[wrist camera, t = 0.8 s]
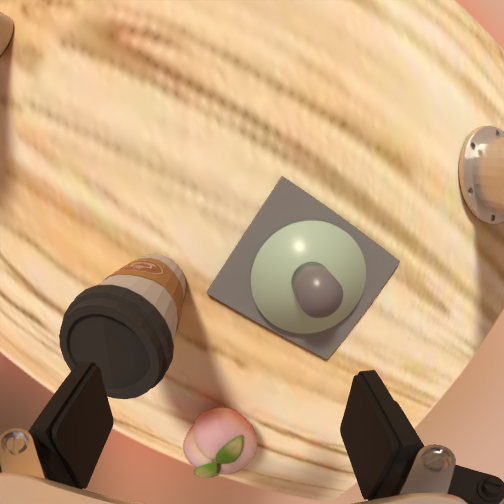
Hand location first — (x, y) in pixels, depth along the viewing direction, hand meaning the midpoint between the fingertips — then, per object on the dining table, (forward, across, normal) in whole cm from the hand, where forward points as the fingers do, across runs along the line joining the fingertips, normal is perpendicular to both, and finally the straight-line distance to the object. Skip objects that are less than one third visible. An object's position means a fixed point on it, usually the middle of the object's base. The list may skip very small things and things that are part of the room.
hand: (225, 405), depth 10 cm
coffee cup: (+23, +8, +4) cm, 24 cm away
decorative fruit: (+23, +1, +22) cm, 32 cm away
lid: (+22, -8, +2) cm, 23 cm away
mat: (+23, -8, +2) cm, 24 cm away
